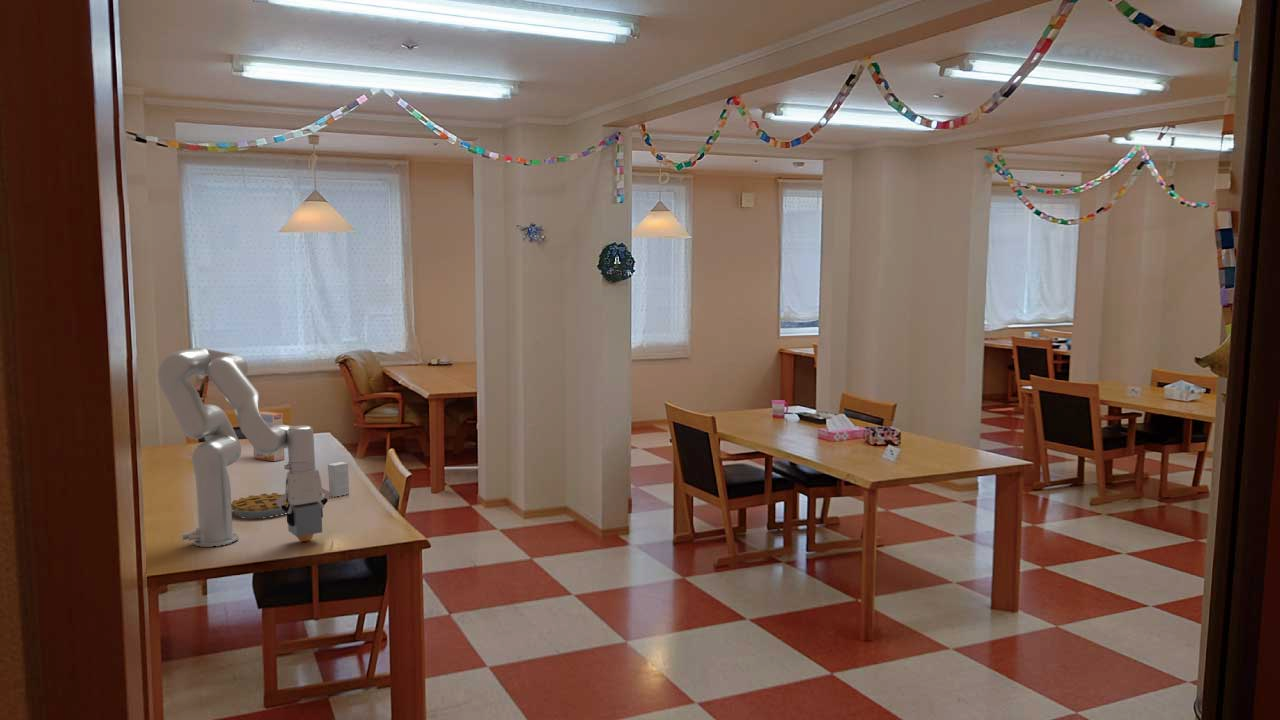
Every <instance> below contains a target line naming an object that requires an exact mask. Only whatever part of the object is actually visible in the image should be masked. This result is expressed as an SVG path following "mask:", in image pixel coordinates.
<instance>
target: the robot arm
mask: <svg viewBox="0 0 1280 720" xmlns="http://www.w3.org/2000/svg"><path fill="white" fill-rule="evenodd" d="M248 373H249V364H248V362H247V361H246V360H245V358H243V357H242V356H241V355H238V354H235V353H231V352H225V351H220V350H214V349H208V348H204V347H203V348H202V347H195V348H189V349H182V350H178V351H175V352H172V353H170V354H169V355H167V356H166V357H165V358H164V359H163V361H161V363H160V365H159V367H158V372H157V379H158V384H159V385H160V388H161V391H162V392H163V394H164V396H165V397H166V399H167V401H168V403H169V405H170V407H171V409H172V410H171V411H172V412H173V414H174V416H175V419H176V420H177V423H178V424H179V427H180V428H181V430H182V433H183V434H184V435H185V436H186V437H187V438H189V439H191V440H199V439H203V438H204V440H205V441H204V442H202V443H200V444H199V445H197V446H196V447H195V448H194V450H193V452H192V455H191V463H192V468H193V471H194V476H195V487H196V501H197V502H196V505H197V521H198V522H197V524H198V527H195V530H193V531H192V532H186V533H185V532H184V533H181V539H182V541H186V540H188V541H193V545H194V546H196V547H199V546H200V547H201V548H214V547H213V546H216V547H222V546H221V545H223V546H226V544H227V545H230V544H229V543H231V544H233V543H232V542H234V541H236V540H237V539H238V540H239V534H237V533H235V532H234V530H233V529H234V527H233V510H232V507H231V503H232V491H231V479H230V476H229V473H228V469H227V467H228V466H231V465H233V464H235V463H236V462H237V461H238V460H239V459H240V457H241V455H242V446H241V441H240V439H239V438H238V436H237V434H236V432H235V429H234V428H233V425H232V423H231V421H230V420H229V417H228V416H227V413H226V412H225V411H224V410H223V409H222V408H221V407H219V406H218V405H215V404H209V403H208V404H205V403H204V402H203V400H202V399H201V396H200V394H199V392H198V390H197V389H196V388H195V386H194V385H193V384H192V383H191V382H190V378H193V377H198V376H205V377H208V378H209V380H210V381H211V382H212V383H213V384H214V386H215V387H216V388H217V389H218V391H219V392H220V393H221V395H222V396H223V397H224V399H225V400H226V401H227V402H228V403H229V405H230V406H231V407H232V408H233V411H234V412H235V414H234V415H235V417H236V421H237V424H238V426H239V429H240V431H241V432H242V434H243V435H244V436H245V438H246V440H247V441H248V442H249V443H250V444H251V445H252V446H254V448H255V449H257V450H258V451H259V452H261V453H264V454H272V453H274V452H277V451H279V450H281V449H284V450H285V449H287V451H288V452H287V455H288V462H287V464H284V466H283V468H284V470H288V471H287V473H286V477H285V478H286V479H285V492H284V493H282V494H283V495H282V494H281V495H282V496H281V497H280V498H279V499H278V500H276V503H277V505H278V506H279V507H280V508H281V509H282V510H284V511H285V512H286V513H287V514H286V523H287V525H288V524H289V525H290V526H294V514H293V513H292V511H293V507H295V506H298V505H304V504H310V503H320V504H321V511H322V518H323V517H324V512H323V508H324V507H325V505H326V504H327V503H328V500H329V498H330V497H332V496H331V493H330V492H329V491H328V490H327V489H324V488H323V487H322V481H321V475H320V471H319V468H316V458H315V456H316V455H315V453H316V452H315V440H314V439H315V437H314V436H315V435H314V428H313V427H312V426H310V425H295V426H294V425H287V424H283V425H275V426H272V427H269V426H268V425H267V424H266V423H265V421H264V420H263V419H262V417H261V415H260V413H259V412H260V409H259V401H260V393H259V390H258V389H257V388H256V387H255V386H254V385H253V384H252V382H251V381H250V379H249V378H248V377H247V376H248ZM254 448H253V449H254ZM285 499H286V502H287V503H288V505H287V507H286V506H285V505H284V504H283V501H284V500H285ZM238 540H237V541H238ZM237 541H236V542H237ZM234 543H235V542H234Z"/></svg>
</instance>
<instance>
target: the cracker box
mask: <svg viewBox="0 0 1280 720" xmlns="http://www.w3.org/2000/svg"><path fill="white" fill-rule="evenodd" d="M259 413H260V415H261V417H262V419H263V420H264V421H265V423H266V424H267V425H268V426H269V427H272V426H275V425H284V419H283V418H284V414H283V413H282V412H273V411H263V410H261V411H260V410H259ZM252 446H253V445H252ZM253 459H254V460H261V461H266V460H267V461H268V462H272V461H275V462H279V461H284V460H285V448H284V449H281V450H279V451H277V452H274V453H272V454H264V453H261V452H259V451H258V450H257V449H255V448H254V446H253ZM267 461H266V462H267Z"/></svg>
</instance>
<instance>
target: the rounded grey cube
mask: <svg viewBox="0 0 1280 720" xmlns="http://www.w3.org/2000/svg"><path fill="white" fill-rule="evenodd" d="M287 505H288V503H287ZM292 513H293V514H294V526H290V525H289V524H288V523H287V525H288V527H287V529H288V532H290V533H291V534H292V535H294V536H295V537H296V538H297V537H300V536H305V535H311V534H313V535H315V534H320V533H323V517H322V511H321V504H320V503H310V504H304V505H298V506H295V507H293V511H292Z"/></svg>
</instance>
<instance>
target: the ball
mask: <svg viewBox="0 0 1280 720" xmlns="http://www.w3.org/2000/svg"><path fill="white" fill-rule="evenodd" d="M313 537H314V534H311V535H305V536H300V537H296V538H297V539H298V540H299V541H300V542H302V541H307V540H309V541H311V540H312V539H313ZM310 539H311V540H310ZM307 542H308V541H307Z"/></svg>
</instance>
